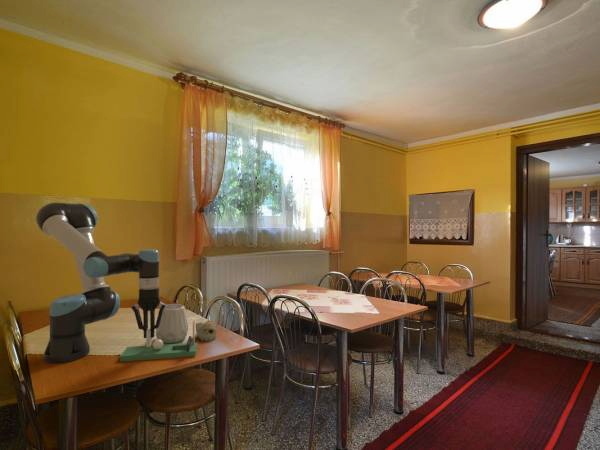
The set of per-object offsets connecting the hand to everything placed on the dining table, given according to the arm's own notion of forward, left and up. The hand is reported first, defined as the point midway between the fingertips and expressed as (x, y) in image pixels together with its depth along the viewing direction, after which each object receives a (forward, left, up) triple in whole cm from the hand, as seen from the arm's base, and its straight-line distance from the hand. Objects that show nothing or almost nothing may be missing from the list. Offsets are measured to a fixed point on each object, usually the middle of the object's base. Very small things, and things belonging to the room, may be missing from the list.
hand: (149, 345), depth 137 cm
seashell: (+21, +18, -4) cm, 28 cm away
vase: (+7, +17, -4) cm, 19 cm away
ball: (+3, 0, +2) cm, 4 cm away
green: (+5, 0, -4) cm, 6 cm away
